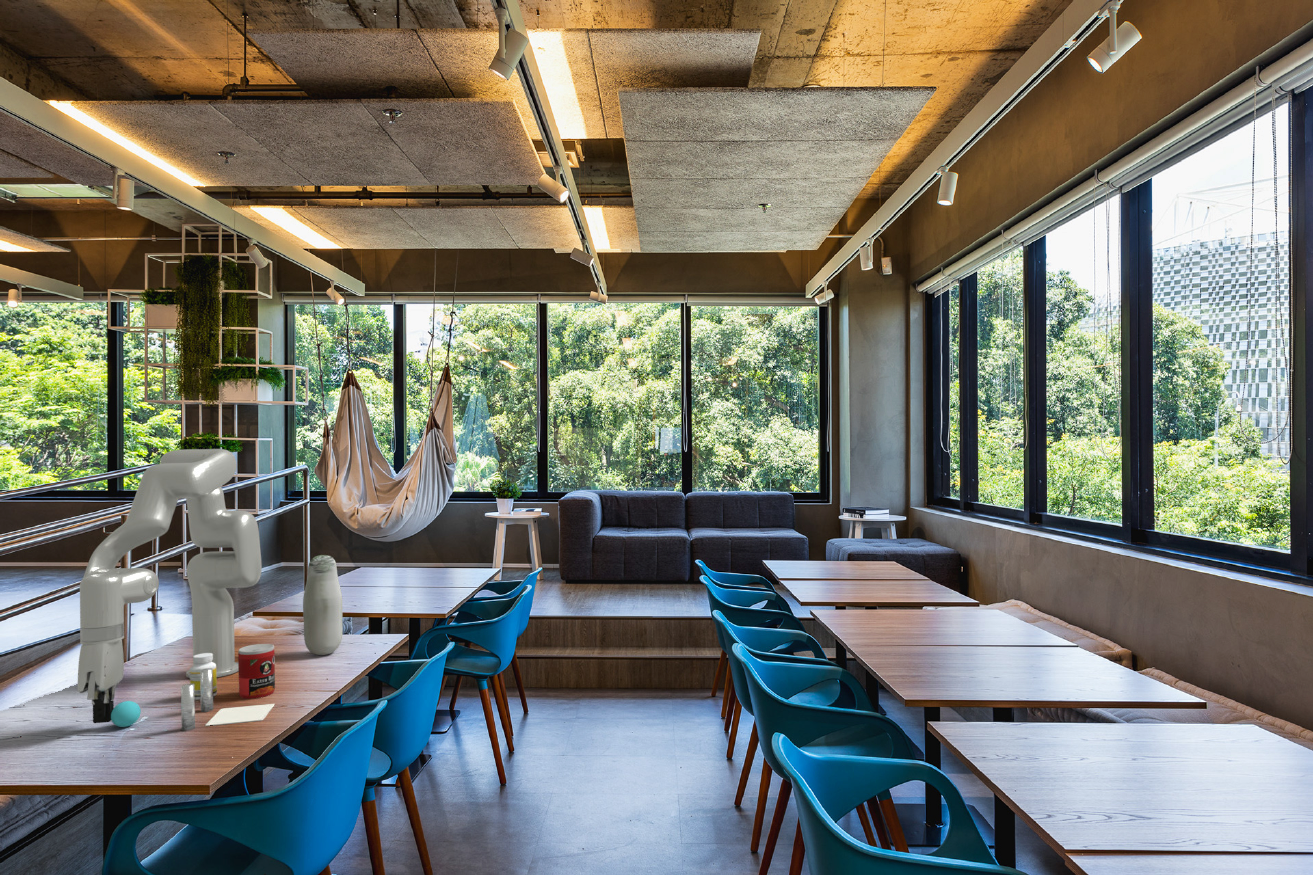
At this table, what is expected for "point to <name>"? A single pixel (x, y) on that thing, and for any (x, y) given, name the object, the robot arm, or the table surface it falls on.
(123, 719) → the ball
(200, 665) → the supplement bottle
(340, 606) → the grey bottle
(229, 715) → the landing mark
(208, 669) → the post
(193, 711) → the post
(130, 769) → the table surface
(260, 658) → the canned food
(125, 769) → the table surface
